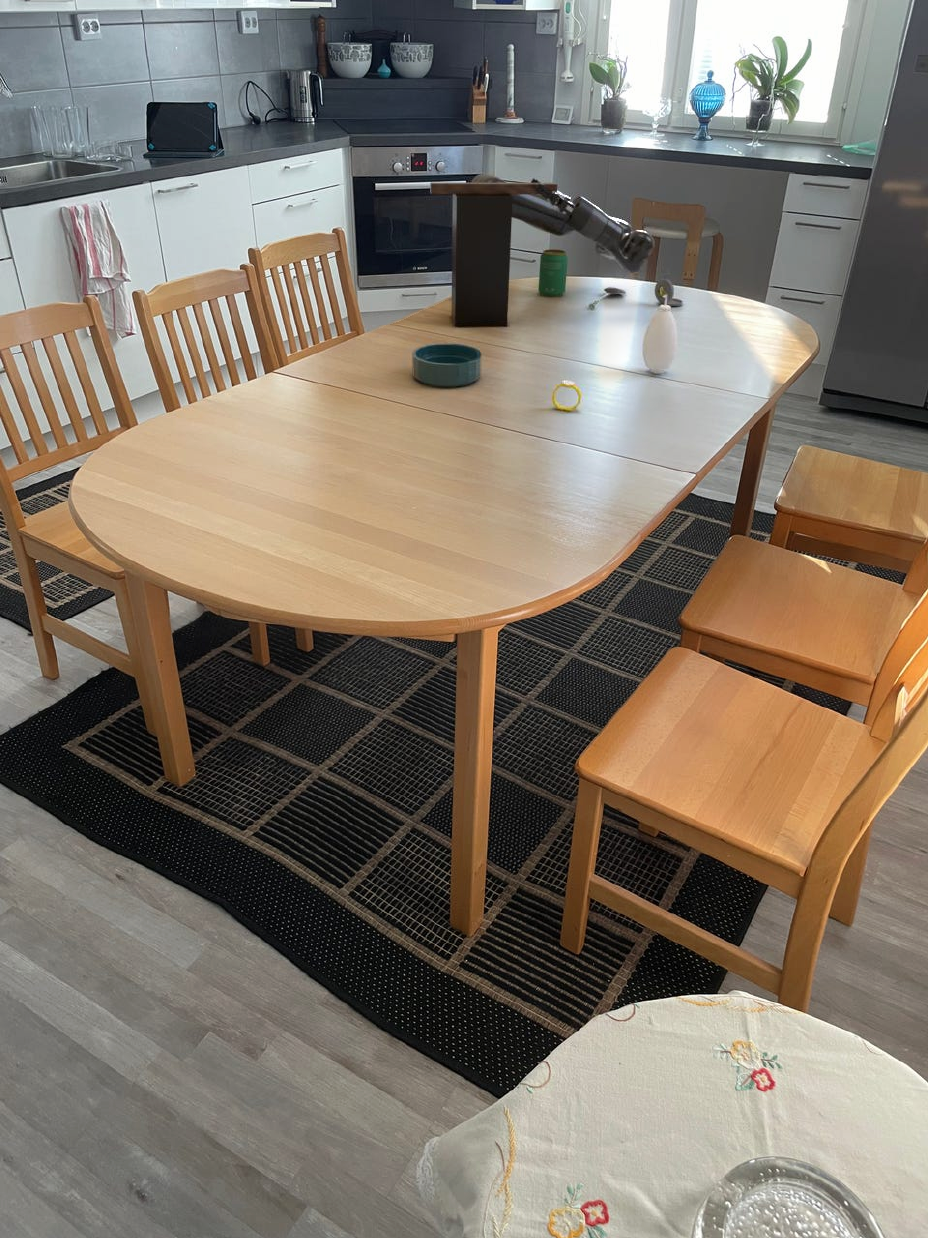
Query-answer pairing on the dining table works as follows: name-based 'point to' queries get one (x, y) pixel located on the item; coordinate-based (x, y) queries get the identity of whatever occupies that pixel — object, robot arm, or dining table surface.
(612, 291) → the soupspoon
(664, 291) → the pocket watch
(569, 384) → the gold diamond ring
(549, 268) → the beverage can
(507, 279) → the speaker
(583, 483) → the dining table surface
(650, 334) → the sauce bottle
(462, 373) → the bowl
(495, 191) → the stick
